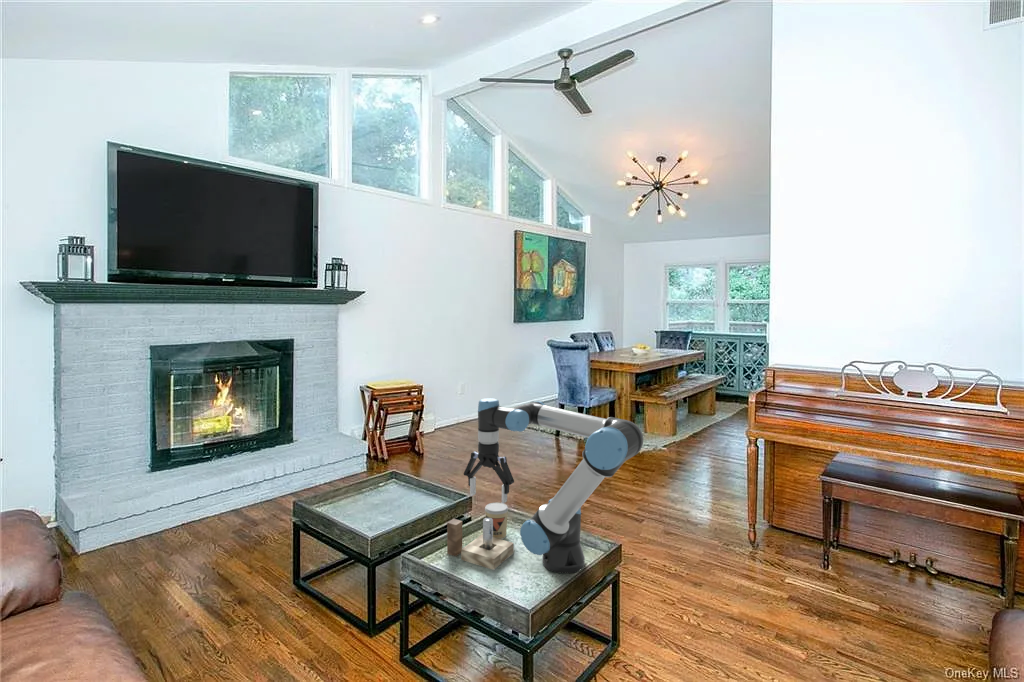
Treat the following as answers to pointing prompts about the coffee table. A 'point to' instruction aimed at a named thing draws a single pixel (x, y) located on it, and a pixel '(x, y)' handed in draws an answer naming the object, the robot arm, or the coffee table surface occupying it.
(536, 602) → the coffee table surface
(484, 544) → the round peg
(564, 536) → the robot arm
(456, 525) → the square peg
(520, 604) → the coffee table surface
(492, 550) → the bore block
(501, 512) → the coffee cup
